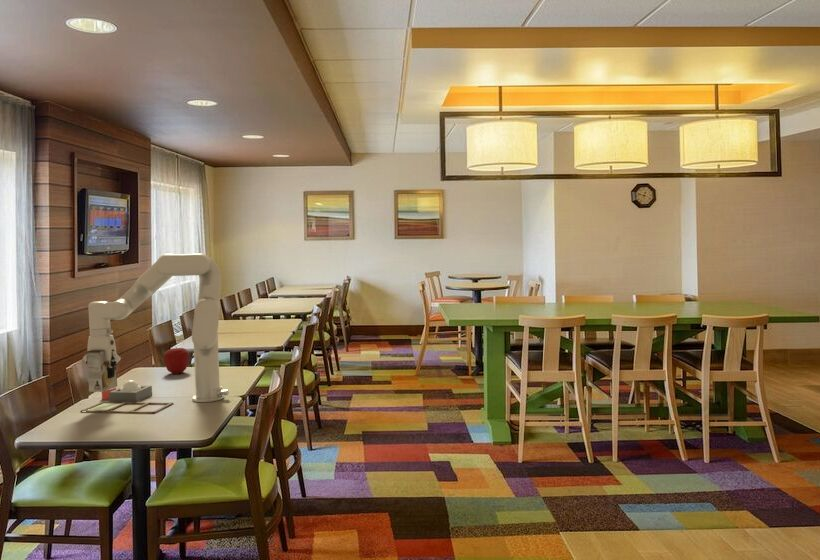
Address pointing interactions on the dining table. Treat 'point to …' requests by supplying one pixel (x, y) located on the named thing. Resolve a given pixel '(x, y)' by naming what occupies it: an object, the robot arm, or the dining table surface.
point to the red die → (107, 393)
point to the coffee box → (99, 372)
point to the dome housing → (130, 395)
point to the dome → (130, 386)
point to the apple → (176, 360)
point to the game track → (113, 405)
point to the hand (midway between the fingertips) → (102, 377)
